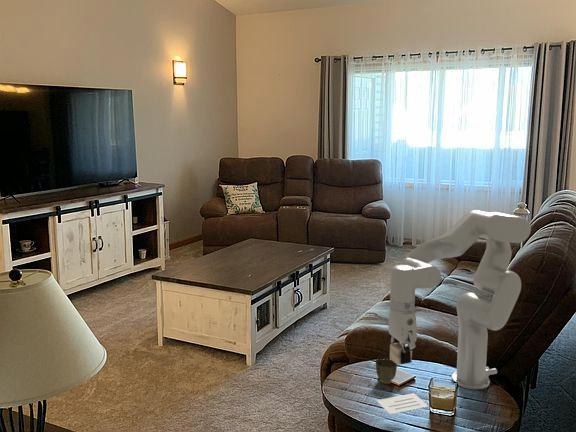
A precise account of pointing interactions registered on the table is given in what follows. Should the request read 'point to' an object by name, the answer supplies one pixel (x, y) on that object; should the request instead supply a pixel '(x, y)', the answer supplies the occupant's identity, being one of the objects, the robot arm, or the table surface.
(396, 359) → the beech block
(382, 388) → the table surface
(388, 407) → the letter
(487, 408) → the table surface
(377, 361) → the dark olive tapered piece
